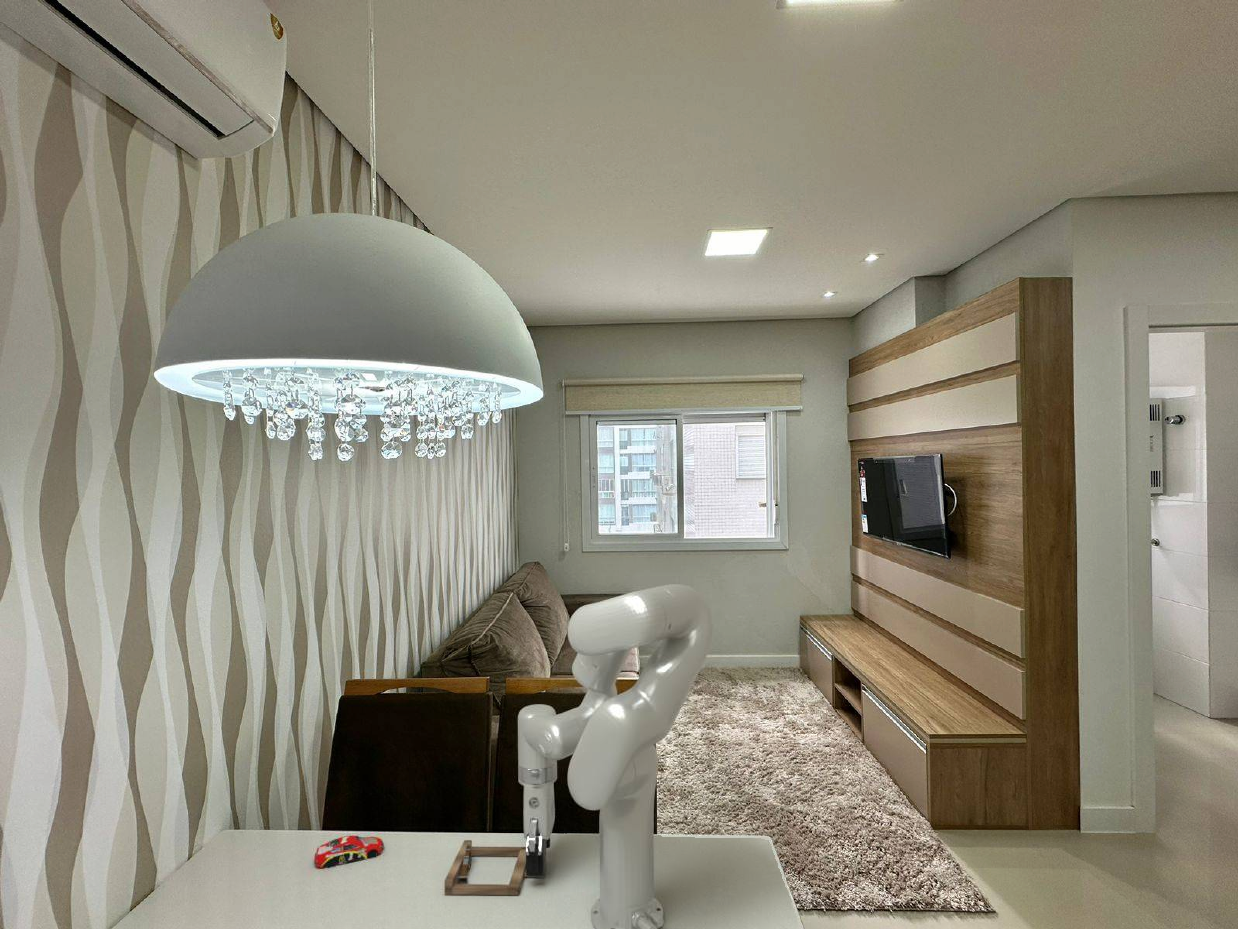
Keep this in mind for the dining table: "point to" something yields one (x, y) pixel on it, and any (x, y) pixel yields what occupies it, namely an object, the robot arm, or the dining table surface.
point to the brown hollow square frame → (491, 889)
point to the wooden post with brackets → (465, 864)
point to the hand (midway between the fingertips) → (538, 860)
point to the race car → (347, 850)
